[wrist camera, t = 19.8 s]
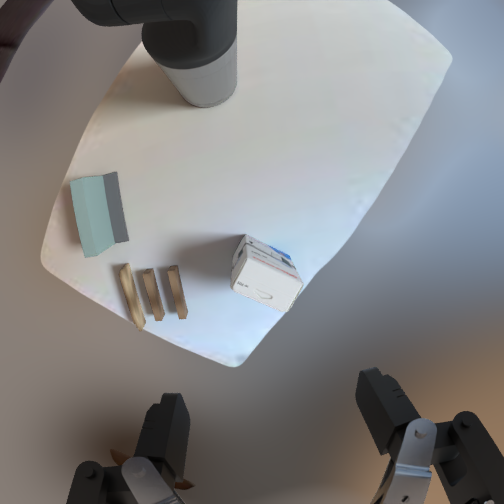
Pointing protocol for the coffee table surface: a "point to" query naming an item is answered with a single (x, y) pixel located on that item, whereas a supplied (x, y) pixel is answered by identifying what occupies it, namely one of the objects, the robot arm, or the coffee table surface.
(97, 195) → the grey-green rectangular block
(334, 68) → the coffee table surface
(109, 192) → the rubber mat
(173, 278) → the walnut slot block
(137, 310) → the wooden bar
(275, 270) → the ink box
